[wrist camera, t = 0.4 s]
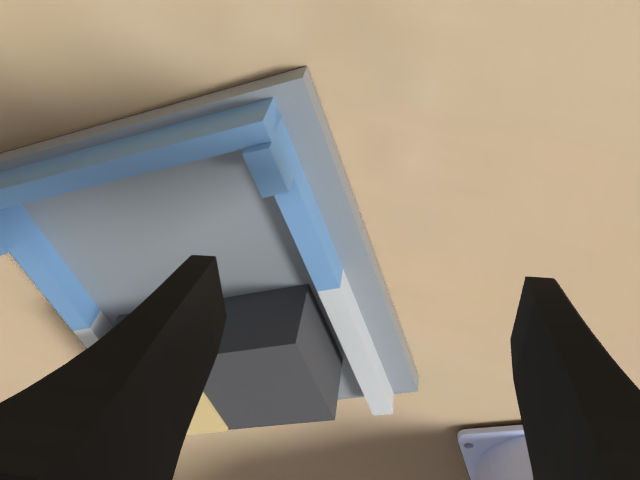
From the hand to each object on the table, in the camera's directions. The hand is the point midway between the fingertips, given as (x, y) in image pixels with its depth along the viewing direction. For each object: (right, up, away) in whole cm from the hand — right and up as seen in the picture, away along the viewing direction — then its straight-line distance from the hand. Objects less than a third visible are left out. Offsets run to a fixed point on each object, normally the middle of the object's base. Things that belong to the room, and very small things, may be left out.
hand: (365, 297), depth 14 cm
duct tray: (-6, 0, +14) cm, 15 cm away
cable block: (-5, -3, +15) cm, 16 cm away
